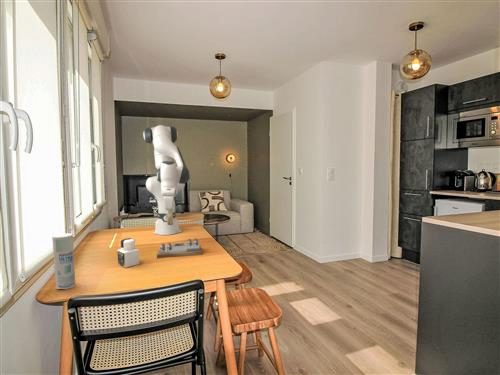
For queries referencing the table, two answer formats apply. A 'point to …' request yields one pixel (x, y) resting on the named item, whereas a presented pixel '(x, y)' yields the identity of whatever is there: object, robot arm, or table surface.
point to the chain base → (179, 254)
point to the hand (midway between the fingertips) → (169, 215)
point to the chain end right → (187, 245)
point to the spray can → (64, 260)
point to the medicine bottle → (128, 253)
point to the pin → (170, 218)
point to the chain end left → (169, 249)
